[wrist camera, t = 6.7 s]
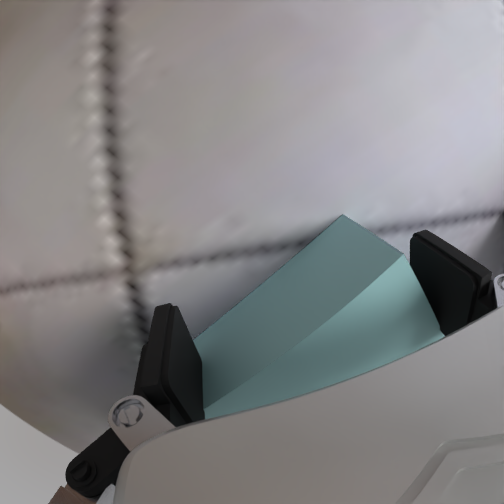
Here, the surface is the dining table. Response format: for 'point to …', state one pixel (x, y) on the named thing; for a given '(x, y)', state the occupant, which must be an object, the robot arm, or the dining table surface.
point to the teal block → (316, 322)
